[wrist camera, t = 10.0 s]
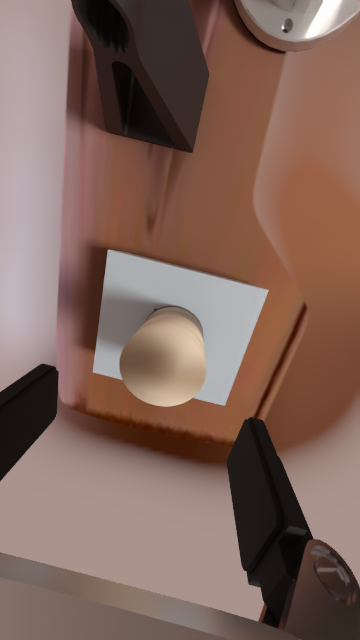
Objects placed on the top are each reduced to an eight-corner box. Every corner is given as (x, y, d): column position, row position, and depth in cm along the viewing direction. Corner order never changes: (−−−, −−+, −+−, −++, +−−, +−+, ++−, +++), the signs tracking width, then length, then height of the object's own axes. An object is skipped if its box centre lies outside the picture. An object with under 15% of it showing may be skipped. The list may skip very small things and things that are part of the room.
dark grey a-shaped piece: (107, 132, 20) (-10, -39, 9) (115, 54, 18) (-19, -292, 7) (192, 154, 20) (189, 11, 9) (209, 78, 18) (232, -229, 7)
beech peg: (156, 292, 24) (125, 317, 13) (208, 305, 24) (218, 341, 13) (146, 340, 26) (113, 394, 15) (194, 352, 26) (193, 415, 15)
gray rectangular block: (124, 251, 23) (107, 249, 19) (255, 284, 23) (268, 290, 19) (108, 354, 27) (92, 372, 23) (220, 383, 27) (224, 405, 23)
